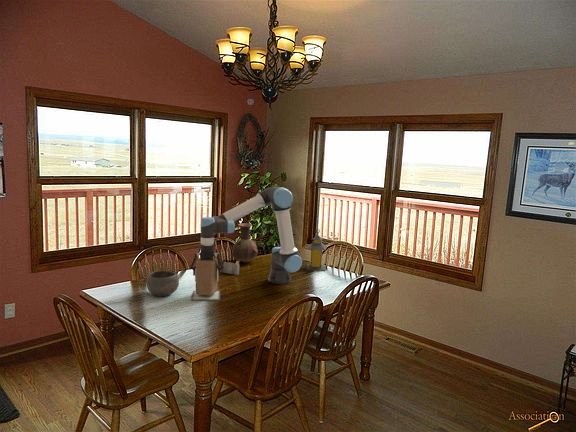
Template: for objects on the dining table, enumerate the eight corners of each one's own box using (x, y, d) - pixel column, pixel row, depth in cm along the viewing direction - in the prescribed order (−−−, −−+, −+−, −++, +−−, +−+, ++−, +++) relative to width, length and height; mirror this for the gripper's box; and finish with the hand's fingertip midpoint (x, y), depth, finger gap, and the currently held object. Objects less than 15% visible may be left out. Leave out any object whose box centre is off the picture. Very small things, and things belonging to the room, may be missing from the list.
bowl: (184, 292, 251) (184, 271, 249) (166, 301, 234) (166, 279, 232) (159, 288, 256) (159, 268, 255) (139, 297, 239) (139, 275, 238)
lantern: (307, 265, 327) (309, 227, 322) (325, 266, 325) (327, 228, 320) (305, 269, 313) (307, 230, 308) (324, 271, 311) (327, 231, 307)
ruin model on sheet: (239, 274, 295) (239, 260, 293) (237, 275, 292) (237, 261, 290) (225, 272, 299) (225, 258, 298) (223, 273, 296) (223, 259, 295)
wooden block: (211, 296, 240) (211, 262, 237) (194, 294, 242) (195, 260, 239) (217, 291, 250) (218, 258, 247) (201, 289, 251) (202, 256, 249)
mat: (220, 291, 255) (220, 290, 255) (220, 300, 239) (220, 299, 239) (193, 291, 253) (193, 290, 252) (191, 300, 237) (191, 299, 237)
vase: (223, 262, 324) (224, 223, 319) (239, 257, 341) (240, 221, 337) (250, 267, 312) (251, 227, 307) (265, 262, 329) (266, 224, 325)
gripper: (228, 243, 247) (227, 278, 250) (186, 242, 243) (186, 279, 246) (228, 245, 240) (227, 282, 243) (185, 245, 236) (184, 282, 239)
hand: (206, 280), depth 245 cm, fingers closed on wooden block, 12 cm apart
